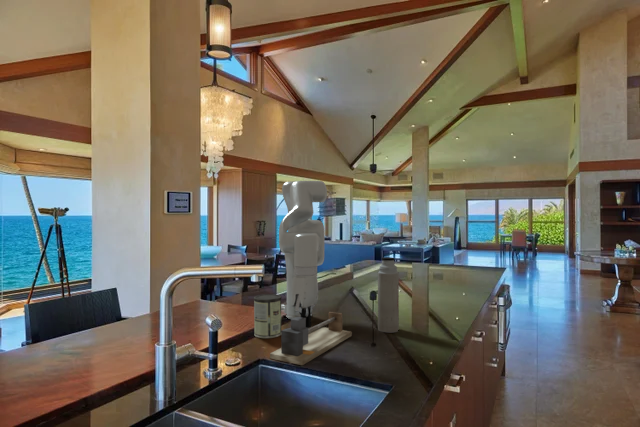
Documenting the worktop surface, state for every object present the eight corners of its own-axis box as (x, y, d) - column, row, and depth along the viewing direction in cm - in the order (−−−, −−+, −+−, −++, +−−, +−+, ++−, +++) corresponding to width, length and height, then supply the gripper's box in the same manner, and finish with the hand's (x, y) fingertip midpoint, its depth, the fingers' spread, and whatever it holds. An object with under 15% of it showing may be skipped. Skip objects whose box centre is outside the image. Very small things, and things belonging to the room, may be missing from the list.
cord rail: (269, 358, 124) (269, 330, 124) (323, 331, 154) (323, 308, 154) (302, 365, 118) (302, 336, 118) (351, 335, 148) (351, 312, 148)
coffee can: (261, 329, 156) (261, 293, 156) (286, 331, 153) (286, 294, 153) (248, 336, 146) (248, 298, 147) (274, 339, 143) (274, 300, 143)
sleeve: (288, 344, 127) (288, 319, 127) (295, 340, 130) (295, 316, 130) (301, 346, 124) (301, 321, 125) (308, 343, 128) (308, 318, 128)
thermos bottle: (398, 327, 159) (398, 256, 159) (398, 333, 151) (398, 258, 151) (378, 326, 160) (378, 256, 160) (377, 332, 152) (377, 258, 153)
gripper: (307, 267, 140) (307, 320, 140) (283, 273, 127) (283, 331, 127) (326, 269, 136) (326, 323, 136) (303, 275, 123) (303, 335, 123)
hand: (305, 327), depth 131 cm, fingers closed
